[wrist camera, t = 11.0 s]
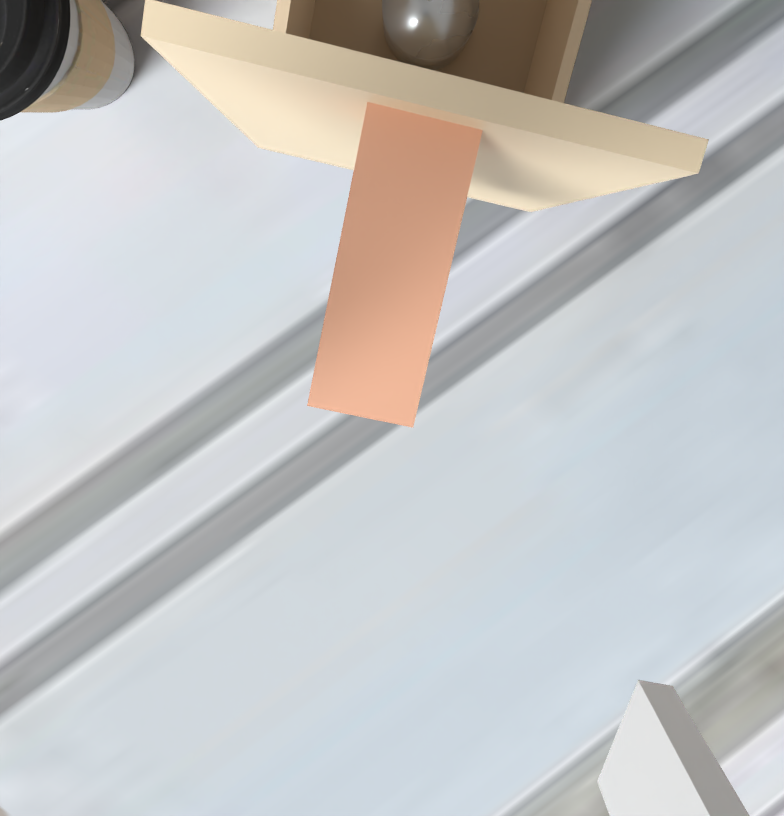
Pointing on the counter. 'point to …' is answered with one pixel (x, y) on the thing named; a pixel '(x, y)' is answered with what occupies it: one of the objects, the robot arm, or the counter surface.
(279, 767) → the counter surface
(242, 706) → the counter surface
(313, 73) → the lid flap
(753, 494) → the counter surface
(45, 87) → the coffee cup
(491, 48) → the carton
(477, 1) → the metal ball
